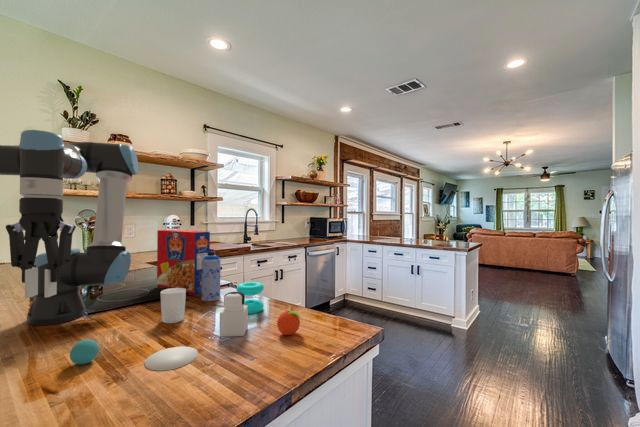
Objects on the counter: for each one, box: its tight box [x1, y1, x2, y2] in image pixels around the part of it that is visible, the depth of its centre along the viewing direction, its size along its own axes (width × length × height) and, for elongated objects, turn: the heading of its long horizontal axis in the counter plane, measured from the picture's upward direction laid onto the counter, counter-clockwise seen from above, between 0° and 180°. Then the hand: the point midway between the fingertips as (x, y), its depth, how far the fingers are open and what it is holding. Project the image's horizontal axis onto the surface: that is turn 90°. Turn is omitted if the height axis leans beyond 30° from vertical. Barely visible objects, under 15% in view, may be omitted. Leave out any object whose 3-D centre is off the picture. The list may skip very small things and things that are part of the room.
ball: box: [69, 338, 100, 365], centre depth 71 cm, size 6×6×6 cm
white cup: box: [160, 288, 187, 324], centre depth 101 cm, size 8×8×10 cm
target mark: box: [144, 346, 199, 372], centre depth 74 cm, size 12×12×1 cm
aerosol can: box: [200, 250, 222, 302], centre depth 126 cm, size 8×8×20 cm
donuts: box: [236, 281, 265, 315], centre depth 111 cm, size 10×10×10 cm
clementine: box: [276, 310, 303, 336], centre depth 89 cm, size 8×7×7 cm
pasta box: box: [156, 229, 211, 297], centre depth 141 cm, size 28×8×28 cm, turn 60°
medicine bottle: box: [219, 291, 249, 338], centre depth 91 cm, size 7×7×12 cm
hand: (41, 295), depth 70 cm, fingers open, 3 cm apart
